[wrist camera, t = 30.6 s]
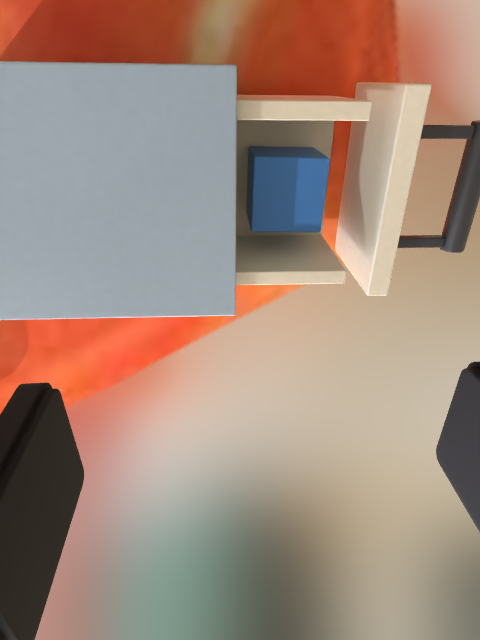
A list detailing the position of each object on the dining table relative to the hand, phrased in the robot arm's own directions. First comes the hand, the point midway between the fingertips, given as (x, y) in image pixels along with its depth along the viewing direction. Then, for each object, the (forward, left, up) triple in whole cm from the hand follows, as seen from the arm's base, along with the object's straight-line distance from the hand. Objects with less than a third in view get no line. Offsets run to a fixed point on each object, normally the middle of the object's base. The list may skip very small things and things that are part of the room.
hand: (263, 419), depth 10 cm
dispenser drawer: (-2, +5, -20) cm, 21 cm away
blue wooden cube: (-1, +3, -19) cm, 20 cm away
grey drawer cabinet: (-2, -7, -21) cm, 22 cm away
